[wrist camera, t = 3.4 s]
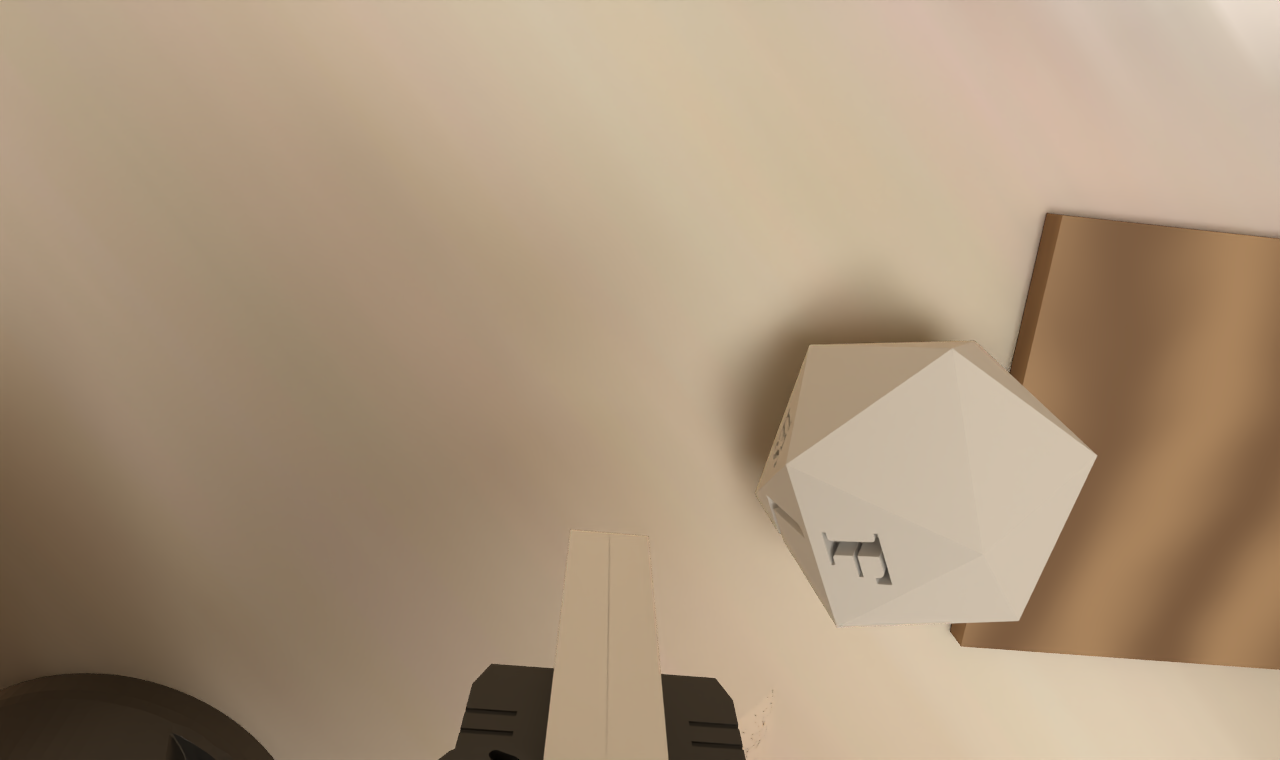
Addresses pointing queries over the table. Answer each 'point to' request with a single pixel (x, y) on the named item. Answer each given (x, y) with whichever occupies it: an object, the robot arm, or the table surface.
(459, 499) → the table surface
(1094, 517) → the board
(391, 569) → the table surface
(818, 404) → the die
